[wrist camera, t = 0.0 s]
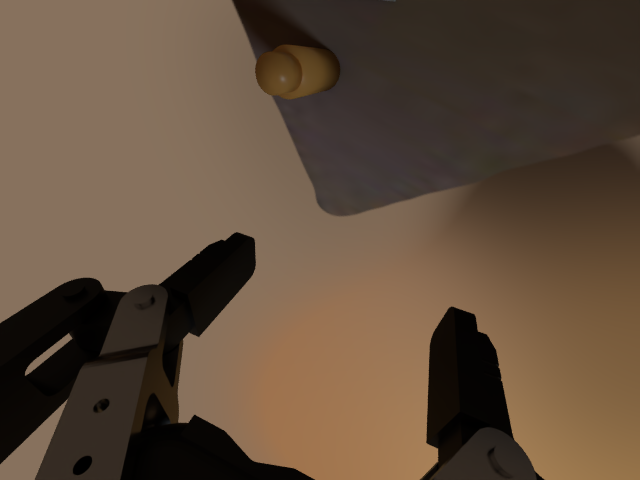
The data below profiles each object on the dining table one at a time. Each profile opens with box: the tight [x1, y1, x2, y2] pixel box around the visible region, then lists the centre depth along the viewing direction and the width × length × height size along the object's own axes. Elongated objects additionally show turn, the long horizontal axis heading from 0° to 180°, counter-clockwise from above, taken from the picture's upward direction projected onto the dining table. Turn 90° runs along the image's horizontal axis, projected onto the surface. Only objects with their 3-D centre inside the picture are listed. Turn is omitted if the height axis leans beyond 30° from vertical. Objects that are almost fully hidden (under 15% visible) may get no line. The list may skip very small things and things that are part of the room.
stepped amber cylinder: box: [255, 44, 340, 99], centre depth 28 cm, size 4×4×13 cm
